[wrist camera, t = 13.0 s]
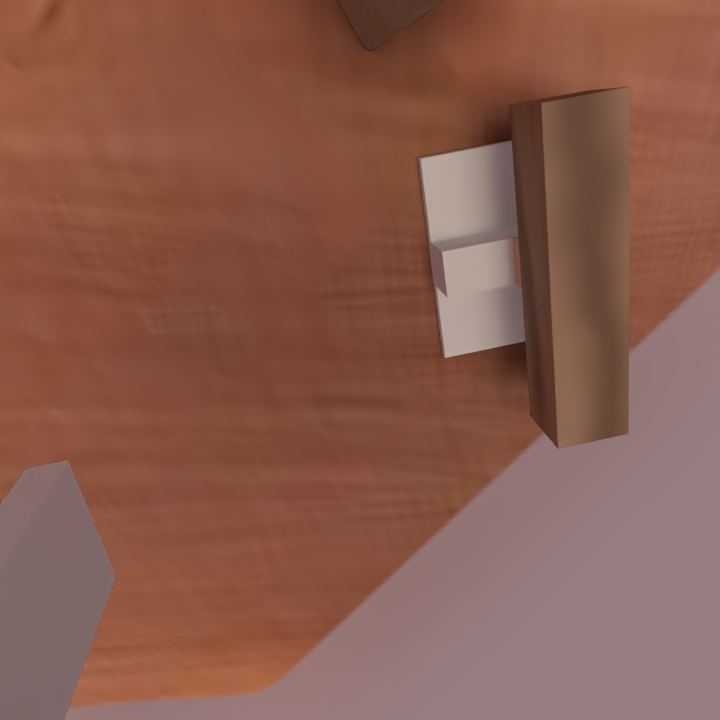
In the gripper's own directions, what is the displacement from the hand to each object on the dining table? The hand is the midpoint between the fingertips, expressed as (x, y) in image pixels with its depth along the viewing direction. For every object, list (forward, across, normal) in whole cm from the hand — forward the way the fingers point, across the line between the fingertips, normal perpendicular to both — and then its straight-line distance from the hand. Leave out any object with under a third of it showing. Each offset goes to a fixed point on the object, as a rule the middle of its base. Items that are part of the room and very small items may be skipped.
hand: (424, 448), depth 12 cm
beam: (+29, +15, -6) cm, 33 cm away
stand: (+37, +15, -6) cm, 40 cm away
